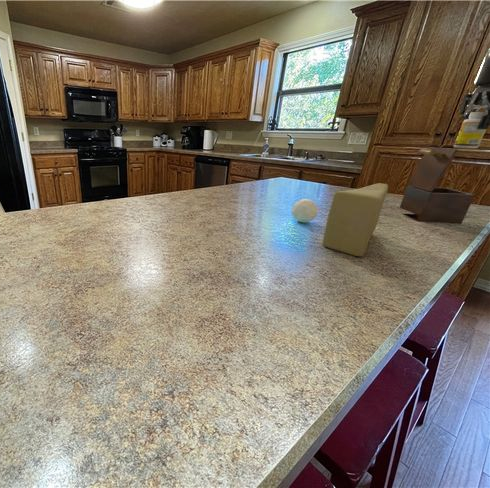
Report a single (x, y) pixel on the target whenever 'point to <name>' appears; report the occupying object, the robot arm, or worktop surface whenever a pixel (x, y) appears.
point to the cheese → (354, 218)
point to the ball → (305, 210)
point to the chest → (436, 204)
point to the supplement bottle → (470, 132)
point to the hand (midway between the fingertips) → (472, 129)
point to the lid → (431, 167)
